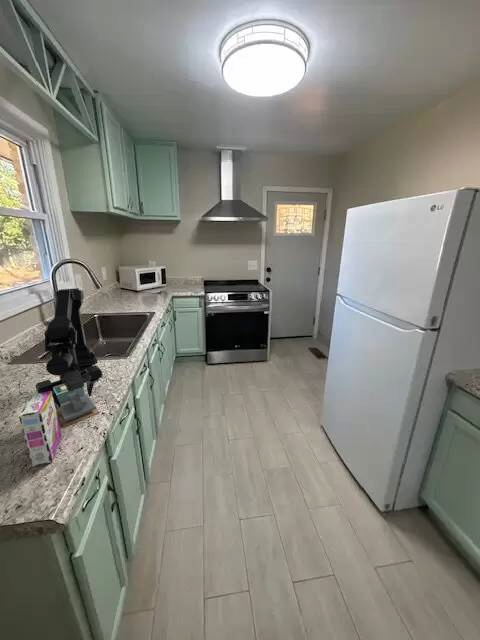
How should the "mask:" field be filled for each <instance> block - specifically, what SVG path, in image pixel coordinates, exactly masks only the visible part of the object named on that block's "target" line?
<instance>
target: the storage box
mask: <svg viewBox="0 0 480 640" xmlns="http://www.w3.org/2000/svg"><path fill="white" fill-rule="evenodd" d="M53 389H54V391H55V393H56V395H57V398H58V400H59V402H60V404H62V403H65V402H68V401H69V397H68V395H69V394H72V393H74V392H76V393H77V395H78V396H79V397H82V396H84V395H86V394H85V389H84V387H82V388H78V389H75V390H73V391H68V390H67V388H66V385H62V386H59V387H56V388H53ZM54 404H55V406H56V407H57V408H58V406H57V404H56V403H55V401H54Z"/></svg>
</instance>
